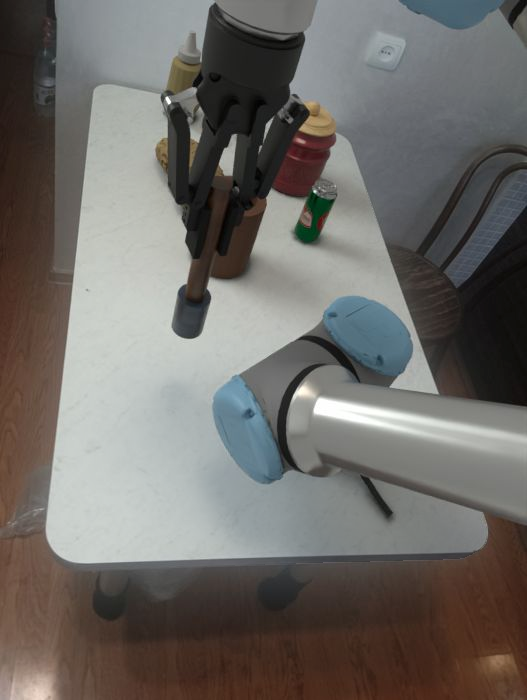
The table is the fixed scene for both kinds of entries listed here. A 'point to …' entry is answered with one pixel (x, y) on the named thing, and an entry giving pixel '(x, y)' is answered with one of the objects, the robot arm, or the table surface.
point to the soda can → (316, 210)
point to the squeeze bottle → (185, 67)
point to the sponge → (163, 156)
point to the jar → (240, 242)
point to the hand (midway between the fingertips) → (205, 248)
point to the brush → (202, 267)
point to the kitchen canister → (307, 152)
